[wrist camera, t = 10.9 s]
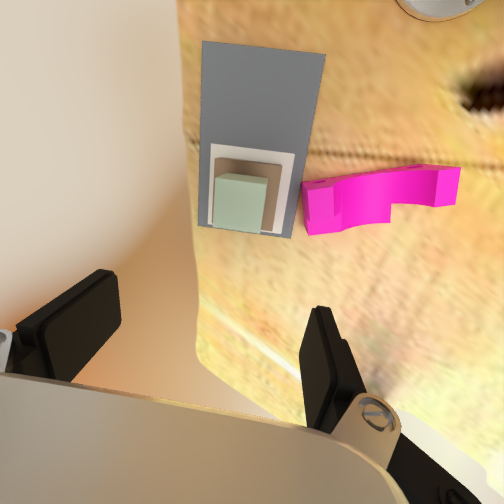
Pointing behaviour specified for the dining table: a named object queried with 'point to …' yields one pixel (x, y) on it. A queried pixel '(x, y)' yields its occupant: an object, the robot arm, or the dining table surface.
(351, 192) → the magenta saddle bracket
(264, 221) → the walnut base block
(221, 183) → the sage block
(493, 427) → the dining table surface
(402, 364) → the dining table surface
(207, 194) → the slate mat
